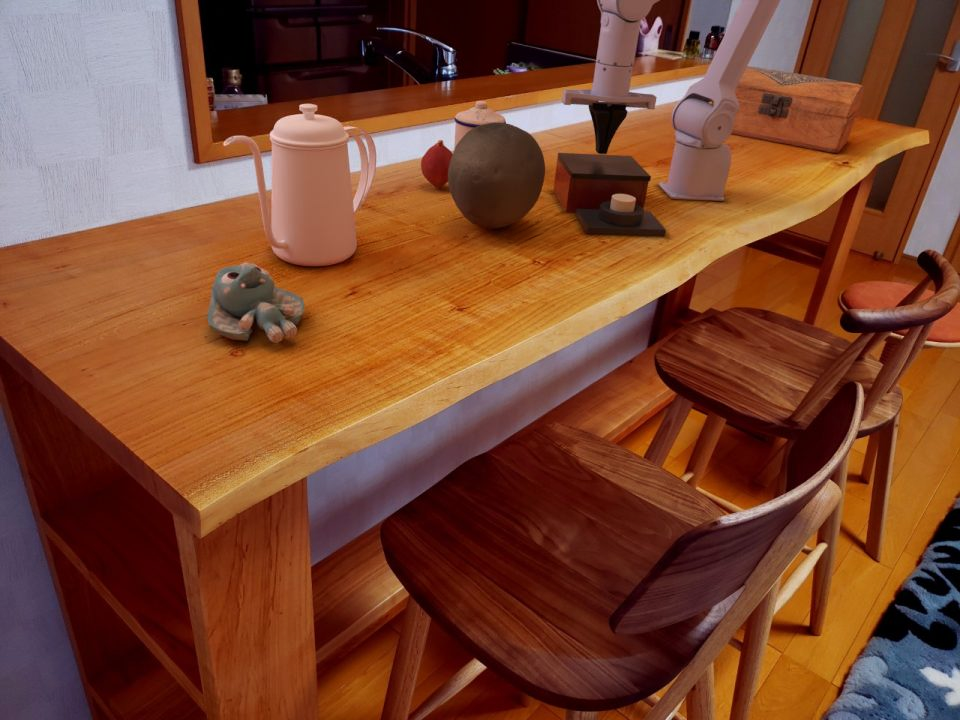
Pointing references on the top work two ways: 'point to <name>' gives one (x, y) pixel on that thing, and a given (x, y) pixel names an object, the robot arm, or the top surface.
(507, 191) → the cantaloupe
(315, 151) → the coffeepot
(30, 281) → the top surface
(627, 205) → the button
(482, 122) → the teacup with lid
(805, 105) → the wooden box
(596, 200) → the reddish-brown open box
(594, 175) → the box lid
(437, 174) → the onion
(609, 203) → the switch block
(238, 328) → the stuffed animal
